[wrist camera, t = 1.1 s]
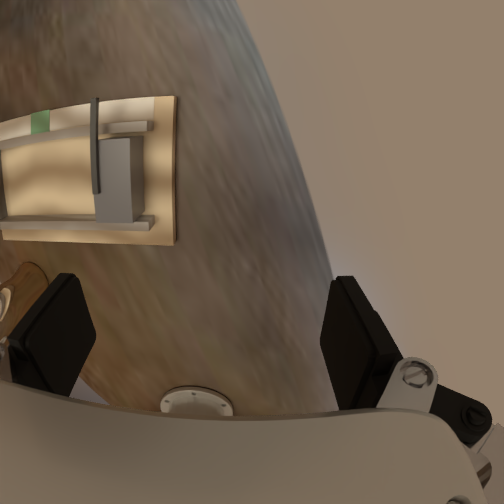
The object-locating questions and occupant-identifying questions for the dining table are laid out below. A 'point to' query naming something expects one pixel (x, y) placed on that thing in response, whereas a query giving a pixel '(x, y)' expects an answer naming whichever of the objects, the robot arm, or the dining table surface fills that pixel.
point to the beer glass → (19, 296)
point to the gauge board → (85, 173)
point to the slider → (116, 174)
